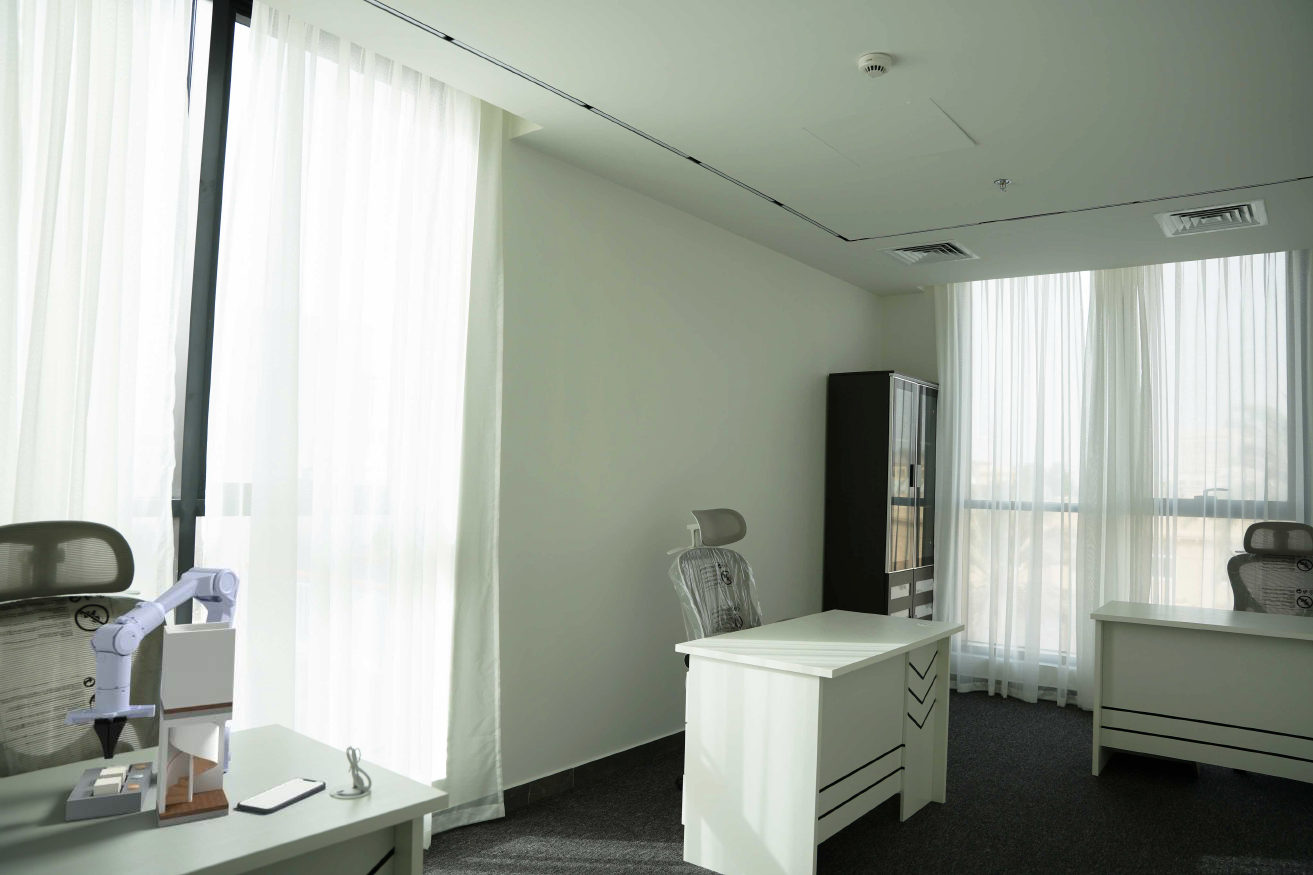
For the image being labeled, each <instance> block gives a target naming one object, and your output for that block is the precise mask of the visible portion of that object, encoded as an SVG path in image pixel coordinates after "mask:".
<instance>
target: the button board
mask: <svg viewBox="0 0 1313 875" xmlns="http://www.w3.org/2000/svg"><path fill="white" fill-rule="evenodd" d="M129 764H130V772H129V773H126V779H125V782H124V783H121V793H117V794H109V795H101V796H93V795H94V785H95V783H96V781H97V779H99V776H100V774H101V772H102V770H103V769H106V768H107V766H102V767H94V768H85V770H84V771H83V773H82V774H81V777H80V778H79V779H78V782H77V783H76V785H75V787H74V788H73V789H72V792H71V793H70V795H69V796H68V798H67V800H66V804H65V805H66V807H65V808H66V809H65V822H68V821H77V820H78V821H79V820H85V819H92V818H101V817H108V816H115V815H123V814H129V813H138V812H141V811H142V809H143V806H144V803H145V800H146V797H147V794H148V791H149V790H150V785H151V784H152V780H153V761H147V762H139V763H138V762H136V763H129Z"/></svg>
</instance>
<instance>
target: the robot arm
mask: <svg viewBox="0 0 1313 875" xmlns="http://www.w3.org/2000/svg"><path fill="white" fill-rule="evenodd" d="M240 581H241V580H240V578H239V577H238V575H237V573H236V572H235V570H234V569H231V568H229V567H226V568H213V567H210V568H209V567H200V566H198V567H197V566H195V567H191V568H189V570H187V571H186V572H184V573H182V574H181V576H180V579H179V580H178V581H177V582H176V583H175V584H173V585H171V587H169V588H168V589H167V590H166V591H165V592H164V593H163V594H161V595H160V596H159V597H157V598H156V599H155V600H153V601H151V600H145V601H139V602H137V603H136V604H135V605H134V606H135V607H134V608H132V609H131V610H129V611H128V612H126V614H124V615H120V616H119V617H117V618H116V620H115V621H114V622H113V623H105V624H103V625H100V627H98V629H96V630H95V632H94V633H93V635H92V639H90V640H89V646H90V648H91V650H92V651H93V653H94V661H95V662H96V668H95V669H96V671H95V673H96V674H95V692H94V706H93V707H94V708H88V709H83V710H75V711H68V712H67V713H66V714H65V725H72V724H75V723H76V724H77V723H87V722H93V725H92V727H93V730H94V731H95V732H94V733H96V735H97V738H98V740H99V742H100V745H101V748H102V752H103V759H104V760H111V759H113V758H114V757H115V752H116V749H117V744H118V742H119V738H120V736H121V735H122V732H123V730H124V728H125V725H126V724H127V723H128V721H129V719H134V718H144V717H145V718H146V717H147V718H153V717H155V714H156V704H147V705H146V704H145V705H143V704H142V705H138V704H137V705H130V696H131V695H130V693H131V676H132V675H131V674H132V672H131V671H132V653H133V652H136V650H137V649H138V647H139V645H140V642H141V641H142V640H143V639H144V637H146V636H147V635H148V634H149V633H151V632H152V631H153V630H155V629H156V628H157V627H159V626H160V625H161V624H163V622H164V620H165V615H166V614H167V613H169V612H170V611H172V610H174V609H175V608H177V607H179V606H180V605H182V604H183V603H185V602H187V601H188V600H190V599H191V598H193V599H194V600H196V601H198V602H199V603H201V605H203V607H204V608H205V609H206V610H207V615H206V621H205V623H211V622H225V621H229V628H233V622H234V617H235V613H236V607H237V599H238V598H237V596H238V592H239V587H240ZM227 721H228V720H226V721H225V724H226V722H227ZM230 736H231V726H225V743H224V768H223V773H227V772H228V771H229V763H230V761H231V756H232V755H231V754H232V752H230V741H231V740H230V739H231V738H230Z"/></svg>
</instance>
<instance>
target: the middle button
mask: <svg viewBox="0 0 1313 875" xmlns="http://www.w3.org/2000/svg"><path fill="white" fill-rule="evenodd" d="M113 777H122V779H121V783H124V782H125V779H126V767H119V768H110V769H103V770H102V772H101V774H100V776H99V779H104V778H113Z"/></svg>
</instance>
